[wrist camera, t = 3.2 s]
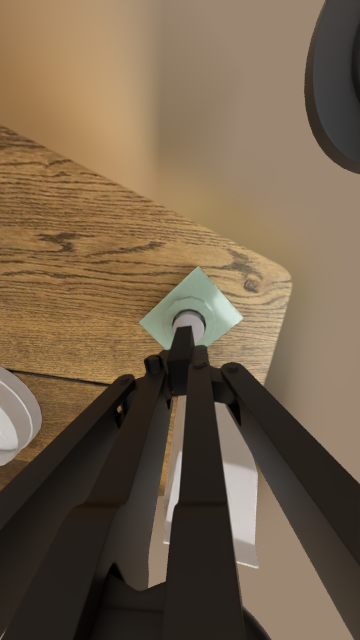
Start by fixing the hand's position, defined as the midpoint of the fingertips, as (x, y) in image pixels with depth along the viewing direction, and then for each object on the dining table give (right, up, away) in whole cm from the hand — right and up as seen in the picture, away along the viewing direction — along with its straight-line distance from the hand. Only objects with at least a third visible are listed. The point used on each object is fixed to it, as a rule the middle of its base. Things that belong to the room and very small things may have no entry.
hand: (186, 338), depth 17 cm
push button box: (+1, +3, +10) cm, 10 cm away
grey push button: (+1, +1, +4) cm, 5 cm away
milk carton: (+3, -9, +13) cm, 17 cm away
